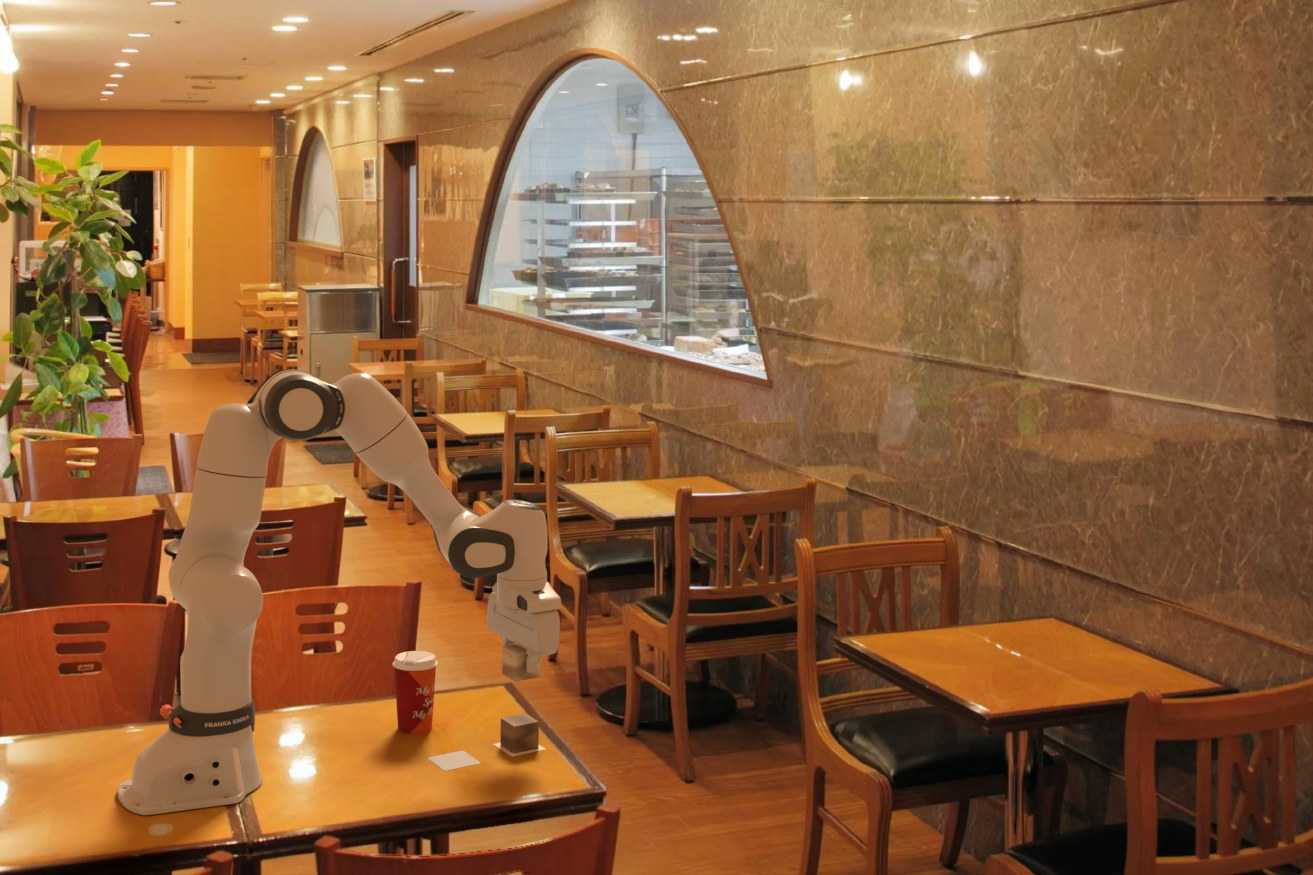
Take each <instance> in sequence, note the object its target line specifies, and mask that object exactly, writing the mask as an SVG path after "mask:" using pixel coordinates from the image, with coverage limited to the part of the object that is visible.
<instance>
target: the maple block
mask: <svg viewBox="0 0 1313 875" xmlns="http://www.w3.org/2000/svg"><path fill="white" fill-rule="evenodd" d="M527 657H528V654H527V653H526V648H524V647H522V646H520V645H518V644H515V645H511V646H505V647H504V646H502V658H501V659H502V662H501V663H502V666H501V668H502V669H501V670H502V671H501V672H502V674H501V675H504V676H505V677H507V678H509V679H510V680H512V681H514V682H520V681H527V680H531V679H537V678H541V677H542V676H541V675H542V674H541V673H542V672H541V671H542V670H541V669H542V666H541V665H542V663H541V662H542V656H539V659H538V661H537V667H536V671H535V672H532V673H529V672H527V671H525V670H524V661H526V660H527Z"/></svg>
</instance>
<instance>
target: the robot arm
mask: <svg viewBox="0 0 1313 875" xmlns="http://www.w3.org/2000/svg"><path fill="white" fill-rule="evenodd" d="M332 431H334V432H336V433H338V434H339V436H340V437H342V439H344V441H345V442H346V444H348V446H349V447H350V448H351V449H352V451H353V452H354V454H355V455H356V456H357V457H358V458H359V459H360V460H361V462H362V463H363V464H364V465H365V466H366V467H367V468H368V469H369V470H370V471H372V472H373V474H375V475H376V476H377V477H378V478H379V479H381V480H382V481H384V482H387V483H390V484H392V485H395V486H397V487H398V488H399V489H401V490H402V492H404V493H405V494H406V495H407V496H408V497H409V498H410V500H411V501H412V503H413V504H414V505H415V506H416V507H417V509H418V510H419V511H420V513H421V514H422V515H423V517H424V518H425V519H426V520H427V522H428V523H429V525H430V527H431V529H432V531H433V532H432V533H433V537H434V542H435V545H436V548H437V550H438V552H439V554H440V555H441V556H442V558H444V559H445V560H446V561H447V562H448V563H449V565H450V566H451V568H452V569H453V570H454V571H455V572H456V573H457V574H459V575H460V576H462V577H464V578H469V579H480V578H484V577H489V576H494V575H496V582H495V583H494V584H493V586H492V589H491V590H492V592H491V593H490V594H489V596H488V602H487V611H486V612H487V613H486V614H487V615H486V624H487V628H488V630H490V631H491V632H493V633H495V634H497V635H498V636H500V637H502V644H503V647H505V646H511V645H517V644H518V645H520V646H522V647H524V648H526V653H527V654H528V657H527V660H526V661H524V670H525V671H527V672H529V673H532V672H535V671H536V667H537V661H538V659H539V656H541V657H543V656H549V655H553V654H556V653H557V652H558V649H559V646H560V637H561V635H560V634H561V633H560V632H561V628H560V627H561V620H560V614H559V612H558V610H560V609H561V608H562V599H561V596H560V595H559V594H558V593H557V592H556V590H554V589H553V588H552V586H551V584H550V582H549V581H548V570H547V567H546V557H547V554H548V526H547V518H546V513H545V512H544V510H543V509H542V508H541V507H539V506H538V505H536V504H535V503H532V502H528V501H525V500H520V499H506V500H504V501H503V500H502V502H501V503H500V504H499V505H498V506H497V507H495V508H494V509H492V510H490V511H489V512H487V513H485V514H483V515H482V514H480V513H478V512H476V511H475V510H472V509H471V508H468V507H466V506H464V505H463V504H462V503H461V502H459V501H458V500H457V498H456V497H455V496H454V495H453V494H452V492H451V491H450V490H449V489H448V488H447V486H446V485H445V483H444V482H443V480H441V478H440V477H439V475H438V474H437V473H436V471H435V470H434V468H433V466H432V463H431V462H430V457H429V446H428V443H427V441H426V440H425V439H426V438H424V436H423V434H422V432H421V430H420V428H419V427H418V426H417V424H416V422H415V420H414V419H413V418H412V417H411V415H410V414H409V412H408V411H407V410H406V408H404V406H403V405H402V404H401V403H400V402H399V401H398V400H397V398H396V397H395V396H394V395H393V394H392V393H391V392H390V391H389V390H388V389H387V388H386V387H385V386H384V385H383V384H382V383H381V382H379V381H378V380H377V379H376V378H375V377H373V376H372V375H371V374H369V373H366V372H354V373H350V374H348V375H345V376H342V378H340V379H339V380H337V381H336V382H333V383H327V382H325V381H323V380H321V379H319V378H317V377H316V376H315V375H313V374H312V373H311V372H307V371H305V370H303V369H296V368H285V369H281V370H278V371H275V372H274V373H272V374H270V375H269V376H268V377H267V378H265V380H264V381H263V382H262V383H261V384H260V385H259V387H258V389H256V391H255V392H254V394H252V396H251V397H250V399H248V401H247V403H238V402H237V403H228V404H224V405H221V406H219V407H217V408H215V409H214V410H213V411H212V412H211V414H210V416H209V417H208V420H207V423H206V425H205V429H204V432H203V436H202V438H201V443H200V446H199V451H198V457H197V463H196V468H195V474H194V481H193V487H192V494H191V502H190V507H189V513H188V517H187V520H186V524H185V527H184V531H183V533H182V536H181V539H180V542H179V545H178V550H177V552H176V556H175V558H174V559H173V561H172V563H171V565H170V567H169V571H168V582H169V589H170V591H171V594H172V596H173V598H174V600H175V601H176V602H177V603H178V604H179V605H180V606H181V607H182V608H183V609H185V612H186V615H187V616H186V617H187V631H186V632H187V633H186V636H185V637H186V638H185V644H184V649H183V651H182V654H181V656H180V661H179V664H180V665H179V667H180V668H179V669H180V702H179V704H178V705H177V706H176V707H175V708H173V707H172V706H171V705H170V704H164V705H162V706H161V708H160V709H159V714H160V715H161V716H162V718H163V719H165V720H168V728H167V729H166V730H165V731H164V732H162V734H161V735H159V736H158V737H157V738H155V740H153V741H152V742H151V743H150V744H148V745H147V746H146V747H145V748H144V749H142V750H141V751H140V752H139V753H138V754H137V756H136V757H135V761H134V764H133V769H132V776H131V778H130V779H127V780H124V781H122V782H121V783H120V784H119V786H118V789H117V798H118V800H119V802H120V804H121V805H122V806H123V807H124V808H125V809H126V810H127V811H129V812H131V813H134V814H137V815H141V816H150V815H158V814H166V813H173V812H181V811H188V810H193V809H194V810H195V809H196V810H197V809H205V808H211V807H218V806H225V805H226V806H227V805H234V804H235V805H236V804H238V803H241V802H242V801H243V800H244V798H246V795H248V794H249V793H251V792H253V791H255V790H256V789H258V788H259V787H260V786H261V784H263V783H262V782H263V776H262V774H261V771H260V766H259V763H258V758H257V755H256V749H255V748H256V747H255V741H254V732H255V725H256V710H255V704H254V703H255V700H254V699H253V698H252V649H253V643H254V640H255V639H254V638H255V633H256V628H257V622H258V618H259V617H260V615H261V613H262V611H263V606H264V594H263V590H262V587H261V585H260V583H259V581H258V580H257V578H256V576H255V575H254V574H253V572H252V571H250V569H248V568H246V567H245V565H244V564H245V562H244V560H245V556H246V552H247V551H248V550H247V549H248V547H249V544H250V541H251V539H252V536H253V534H254V532H255V531H256V529H257V528H258V527H259V524H260V523H261V516H262V509H263V503H264V496H265V491H266V483H267V475H268V468H269V460H270V457H271V454H272V451H273V448H274V446H275V444H277V442H278V441H279V440H281V439H282V438H284V439H286V440H288V441H289V440H290V441H296V442H297V441H298V442H300V441H307V440H311V439H315V438H317V437H320V436H321V435H324V434H327V433H330V432H332Z"/></svg>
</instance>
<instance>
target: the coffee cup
mask: <svg viewBox="0 0 1313 875" xmlns="http://www.w3.org/2000/svg"><path fill="white" fill-rule="evenodd" d="M436 658H437V657H436V655H435V654H434V653H432V652H429V651H424V650H411V651H410V650H409V651H404V652H401V653H397V655H396V656H395V657H394V661H393V662H392V667H393V668H394V679H395V680H394V681H395V697H396V698H395V699H396V700H395V701H396V702H395V703H396V715H397V718H396V719H397V730H398V731H399V733H402V734H406V735H422V734H426V733H428V732H430V731H431V730H432V727H433V716H434V703H435V702H434V700H435V689H436V688H435V687H436V686H435V685H436V674H437V673H436V671H437V669H436V668H437V666H438V665H439V662H438V660H437V659H436Z"/></svg>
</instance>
